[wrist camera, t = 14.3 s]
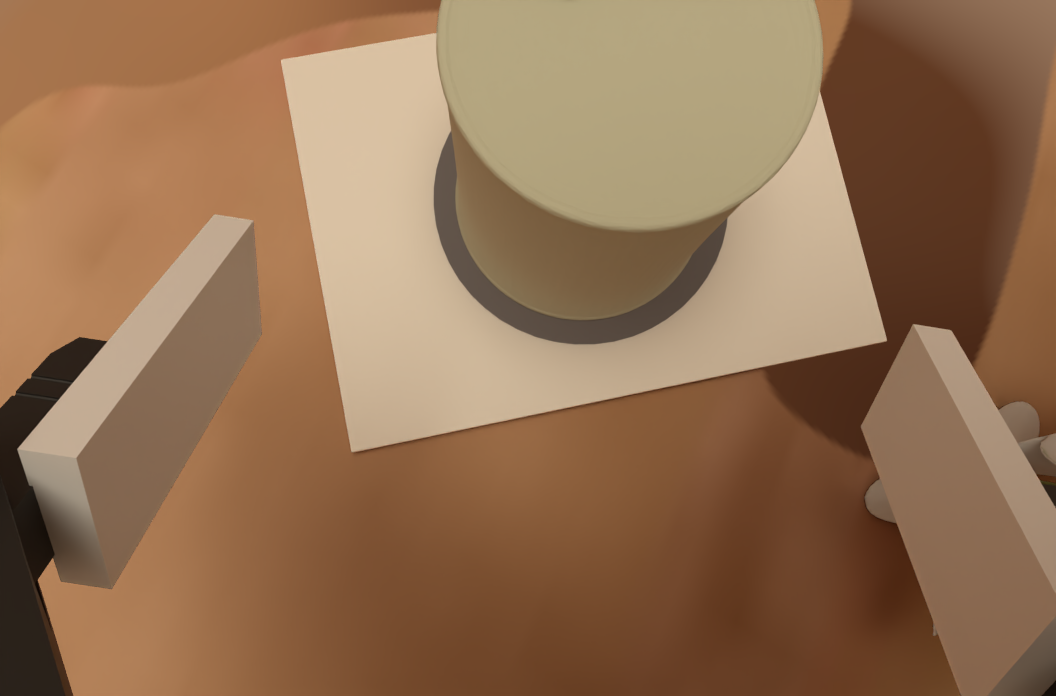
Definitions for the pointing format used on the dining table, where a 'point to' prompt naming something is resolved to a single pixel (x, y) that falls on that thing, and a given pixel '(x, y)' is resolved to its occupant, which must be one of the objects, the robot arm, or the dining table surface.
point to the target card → (508, 327)
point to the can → (616, 135)
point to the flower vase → (1023, 421)
